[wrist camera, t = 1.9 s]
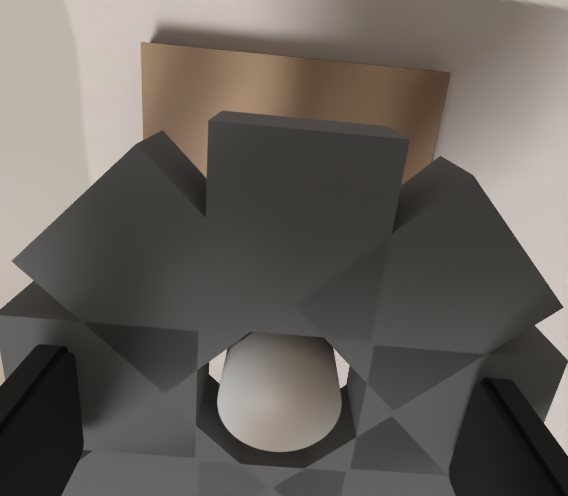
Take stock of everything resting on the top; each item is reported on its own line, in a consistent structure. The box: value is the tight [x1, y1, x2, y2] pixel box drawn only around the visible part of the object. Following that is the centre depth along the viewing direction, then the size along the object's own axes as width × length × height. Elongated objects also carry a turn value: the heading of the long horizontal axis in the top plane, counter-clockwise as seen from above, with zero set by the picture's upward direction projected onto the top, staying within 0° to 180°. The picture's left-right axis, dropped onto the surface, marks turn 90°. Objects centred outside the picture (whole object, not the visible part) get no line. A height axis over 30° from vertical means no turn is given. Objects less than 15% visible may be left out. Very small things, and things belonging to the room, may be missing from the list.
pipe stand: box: [141, 42, 450, 452], centre depth 19 cm, size 16×16×18 cm
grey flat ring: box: [0, 110, 568, 496], centre depth 12 cm, size 13×13×2 cm
